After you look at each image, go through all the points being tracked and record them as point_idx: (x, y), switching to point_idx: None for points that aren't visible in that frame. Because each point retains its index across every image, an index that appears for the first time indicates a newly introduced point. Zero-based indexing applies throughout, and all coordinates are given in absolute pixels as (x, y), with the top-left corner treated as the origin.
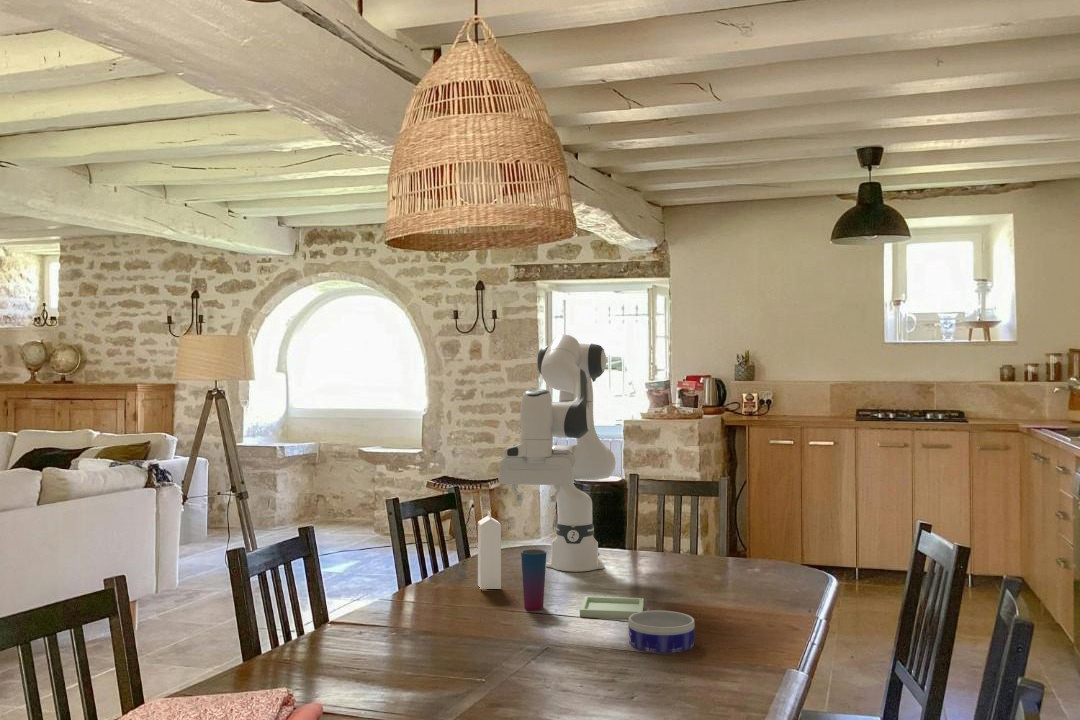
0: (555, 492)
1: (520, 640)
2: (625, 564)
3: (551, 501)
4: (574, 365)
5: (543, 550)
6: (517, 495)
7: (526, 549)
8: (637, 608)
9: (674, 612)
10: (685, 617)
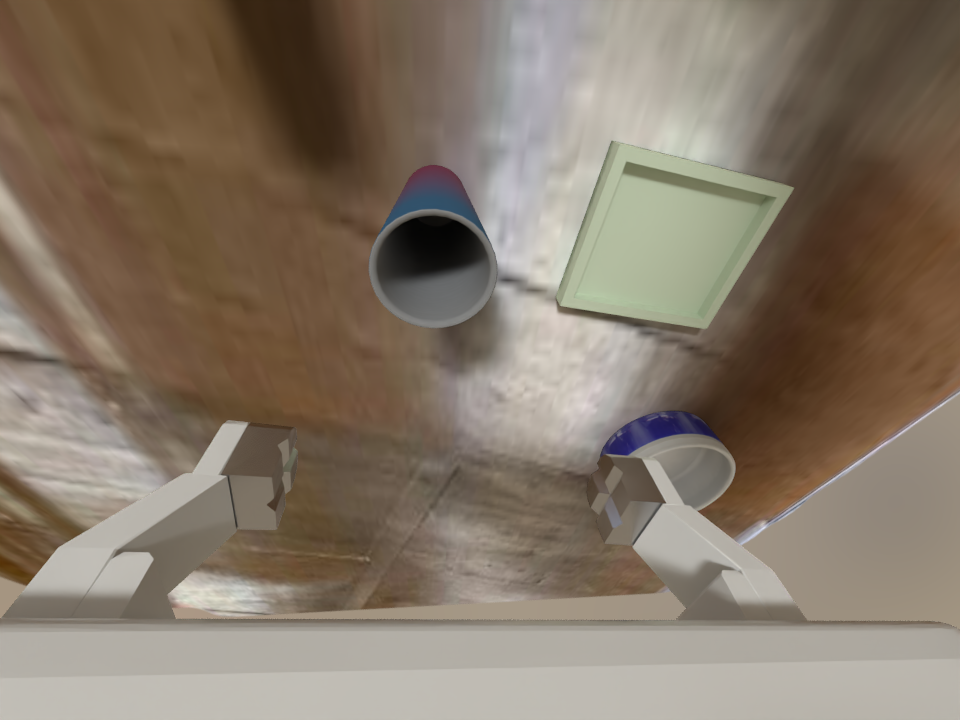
0: (662, 579)
1: (408, 441)
2: None
3: (594, 493)
4: None
5: (485, 244)
6: (234, 525)
7: (394, 223)
8: (729, 250)
9: (722, 453)
10: (728, 464)
